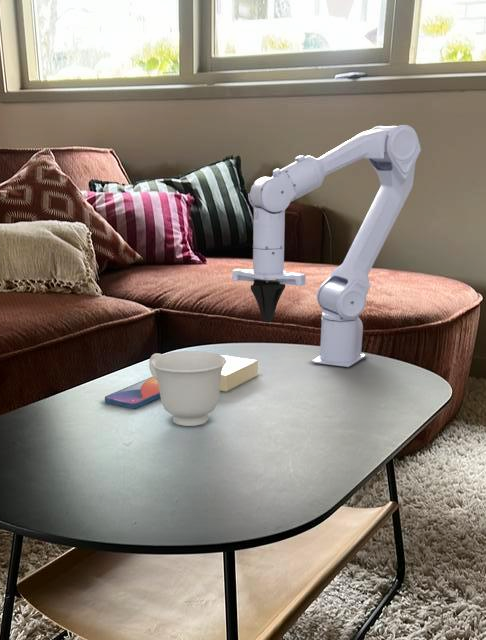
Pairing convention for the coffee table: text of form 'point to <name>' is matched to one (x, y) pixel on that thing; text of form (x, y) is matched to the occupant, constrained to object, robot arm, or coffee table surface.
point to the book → (237, 372)
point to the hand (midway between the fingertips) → (267, 321)
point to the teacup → (188, 384)
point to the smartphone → (135, 394)
